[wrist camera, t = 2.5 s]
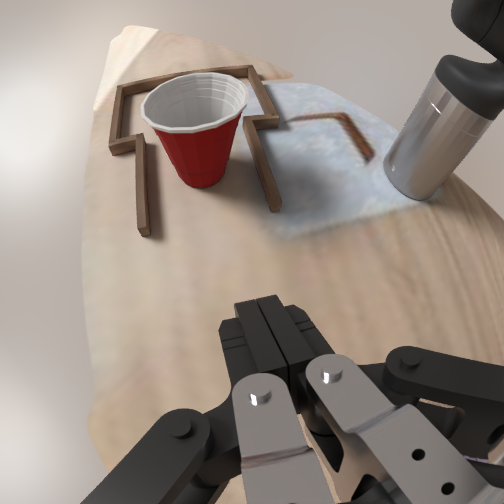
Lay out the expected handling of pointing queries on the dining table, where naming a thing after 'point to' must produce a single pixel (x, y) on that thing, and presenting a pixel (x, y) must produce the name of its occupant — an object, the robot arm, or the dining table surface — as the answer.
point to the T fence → (249, 127)
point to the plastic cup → (197, 123)
